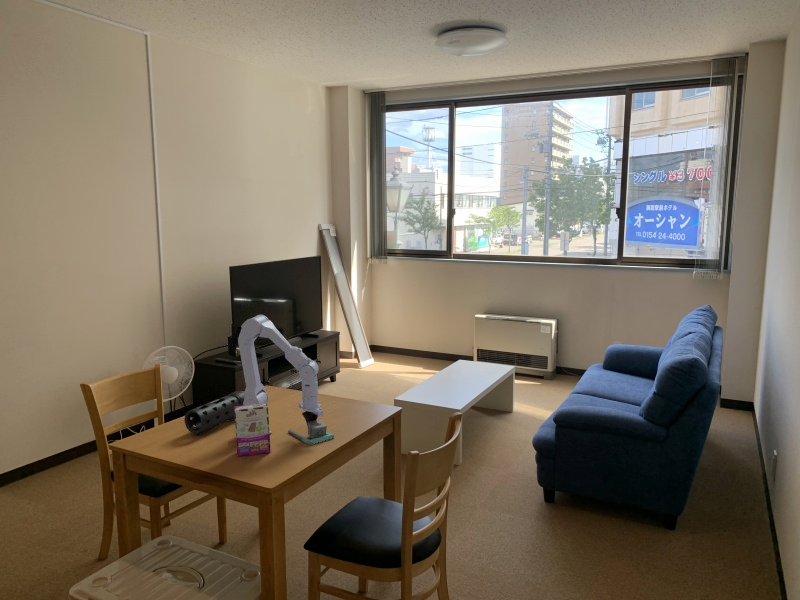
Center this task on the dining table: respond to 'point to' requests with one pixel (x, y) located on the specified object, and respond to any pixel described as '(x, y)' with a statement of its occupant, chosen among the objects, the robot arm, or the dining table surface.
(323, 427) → the dice cube
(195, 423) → the muzzle brake
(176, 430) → the dining table surface
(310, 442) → the guide lane
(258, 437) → the candy bar box
